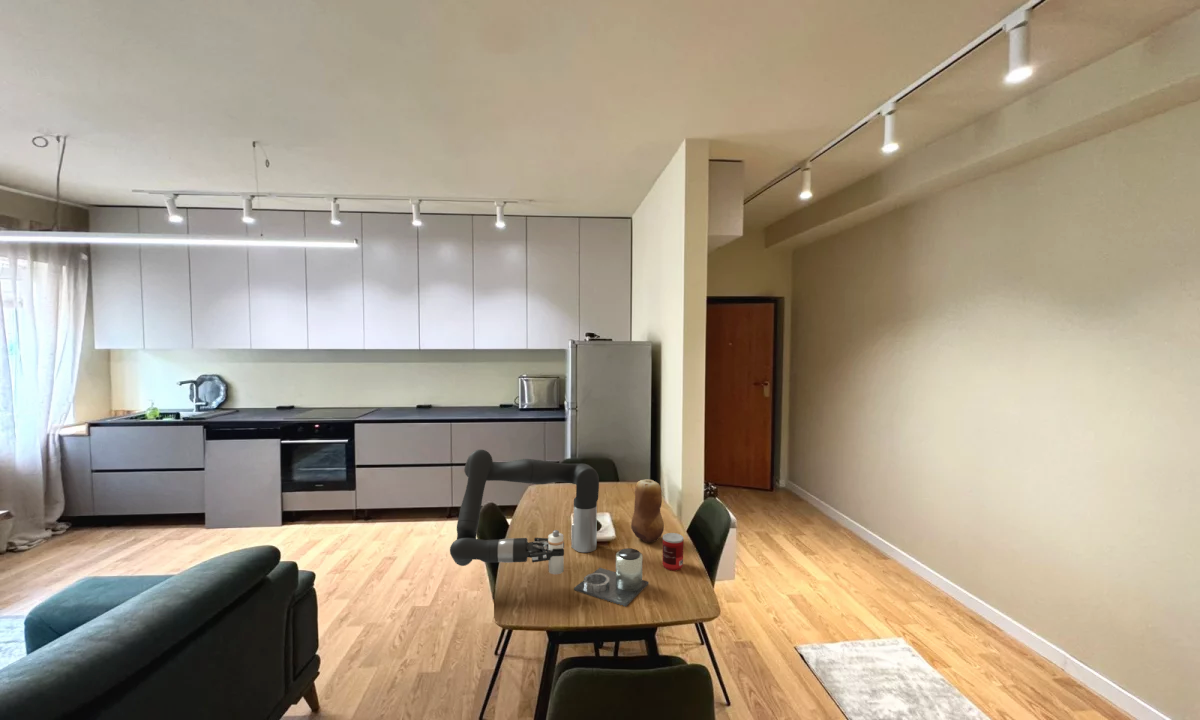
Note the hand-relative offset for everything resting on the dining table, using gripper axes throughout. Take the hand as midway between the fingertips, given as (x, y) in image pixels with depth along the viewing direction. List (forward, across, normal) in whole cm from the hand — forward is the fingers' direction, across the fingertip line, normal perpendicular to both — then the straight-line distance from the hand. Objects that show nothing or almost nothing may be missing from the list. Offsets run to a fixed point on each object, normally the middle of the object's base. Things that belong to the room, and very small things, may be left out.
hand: (563, 548), depth 165 cm
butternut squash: (+35, +37, +14) cm, 53 cm away
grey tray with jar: (+16, 0, +14) cm, 21 cm away
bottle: (-3, 0, +8) cm, 8 cm away
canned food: (+40, +14, +14) cm, 45 cm away
